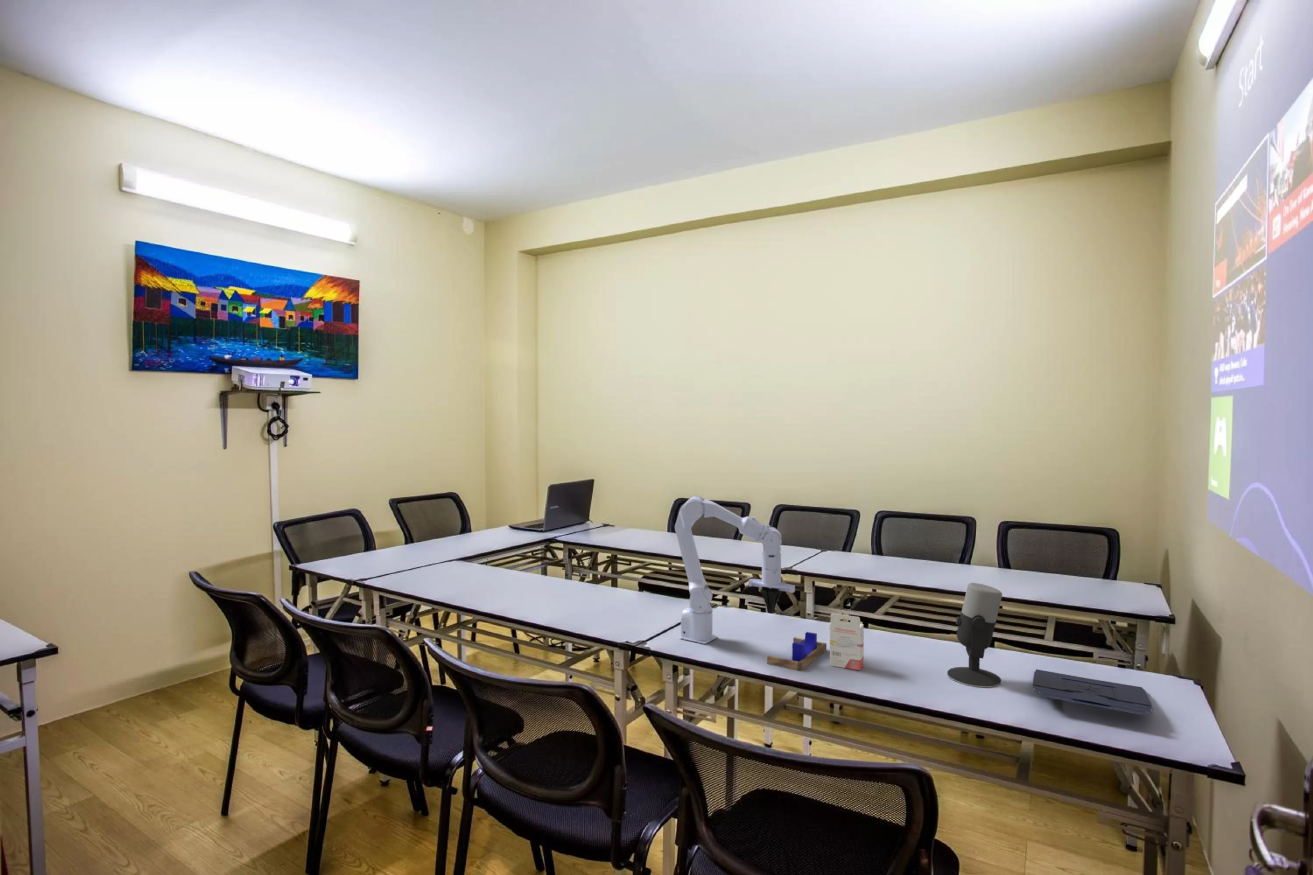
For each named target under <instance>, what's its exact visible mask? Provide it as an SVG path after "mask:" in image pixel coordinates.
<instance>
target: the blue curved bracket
mask: <svg viewBox="0 0 1313 875" xmlns="http://www.w3.org/2000/svg"><path fill="white" fill-rule="evenodd" d="M804 639H805V641H801V642H800V643H798V642H792V647H791V648H792V650H791V654H792V655H791V660H793V661H797V662H799V661H801V660H802V659H803V658H805V657H806V656H807V655H808V654H810V653H811V652H812V651H813V650H815V649H816V648H817V642H818V640H817V639H818V634H817V633H815V632H810V631H806V632H805V634H804Z"/></svg>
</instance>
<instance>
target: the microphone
mask: <svg viewBox="0 0 1313 875" xmlns="http://www.w3.org/2000/svg"><path fill="white" fill-rule="evenodd" d="M1002 597H1003V593H1002V591H1001V590H999V589H997V588H995V587H993V586H989V585H986V584H983V583H978V582H970V583H968V584H967V588H966V591H965V596H964V600H963V604H962V607H961V612H960V616H957V617H956V620H955V625H957V629H955V632H956V638H957V640H958V642H959V643H960V644H961V645H962V646H963V647H965V651H966V654H967V656H968V666H956V667H950V668H949V669H948V670H947V674H946V675H947V677H948V678H949V679H951V680H952V681H953V682H955V683H958V684H961V685H965V686H968V687H973V688H974V687H975V688H995V687H998V686H1000V685H1001V684H1002V679H1001V677H1000V676H999V675H998V674H996V673H994V672H992V671H989V670H986V669H982V668H980V660H981V659H984V657H985V650H987V649H988V648H989V647H990V646H991V644H992V641H993V636H994V631H995V627H996V625H997V617H998V614H999V610H1000V605H1001V601H1002V599H1003V598H1002Z"/></svg>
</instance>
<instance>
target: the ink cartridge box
mask: <svg viewBox="0 0 1313 875" xmlns="http://www.w3.org/2000/svg"><path fill="white" fill-rule="evenodd" d="M844 619H846V620H847V621H843V620H844ZM864 637H865V636H864V624H863V623H861V618H860V616H853V615H847V614H837V613H831V614H830V624H829V665H830V666H831V667H836V668H843V669H849V670H855V671H861V670H862V668H863V667H864V659H865V658H864V657H865V656H864V654H865V653H864V652H865V651H864V650H865V648H864V644H865V643H864V640H865V639H864Z"/></svg>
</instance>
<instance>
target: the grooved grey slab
mask: <svg viewBox="0 0 1313 875" xmlns="http://www.w3.org/2000/svg"><path fill="white" fill-rule="evenodd" d="M1032 689H1034V692H1035V693H1039V696H1040V697H1045V698H1050V699H1054V700H1061V701H1065V702H1070V703H1077V704H1081V705H1087V706H1093V707H1099V708H1103V709H1108V710H1109V709H1110V710H1115V711H1119V712H1124V713H1130V714H1135V715H1141V716H1146V717H1147V713H1149V714H1152V710H1154V709H1153V705H1152V703H1151V701H1150V698H1149V696H1148V693H1147V691H1146V690H1145V689H1144V688H1143V686H1136V685H1130V684H1125V683H1119V682H1114V681H1113V682H1112V681H1106V680H1101V679H1093V678H1089V677H1087V678H1086V677H1082V676H1077V675H1072V674H1067V673H1066V674H1065V673H1059V672H1053V671H1049V670H1042V669H1035V670H1034V673H1033V678H1032Z"/></svg>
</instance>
